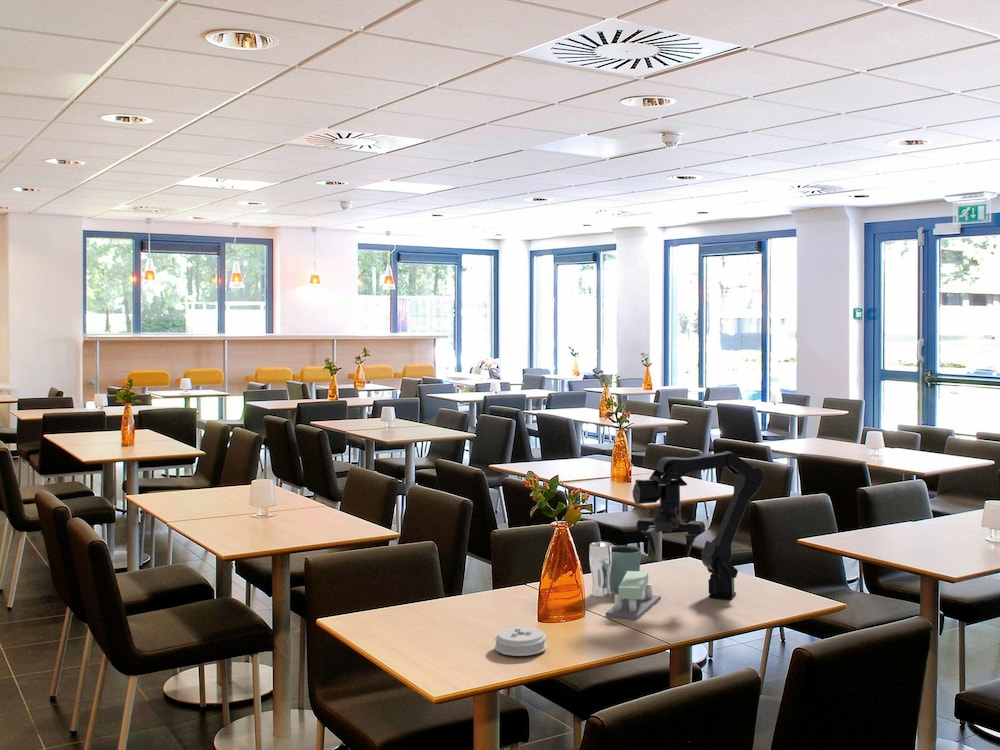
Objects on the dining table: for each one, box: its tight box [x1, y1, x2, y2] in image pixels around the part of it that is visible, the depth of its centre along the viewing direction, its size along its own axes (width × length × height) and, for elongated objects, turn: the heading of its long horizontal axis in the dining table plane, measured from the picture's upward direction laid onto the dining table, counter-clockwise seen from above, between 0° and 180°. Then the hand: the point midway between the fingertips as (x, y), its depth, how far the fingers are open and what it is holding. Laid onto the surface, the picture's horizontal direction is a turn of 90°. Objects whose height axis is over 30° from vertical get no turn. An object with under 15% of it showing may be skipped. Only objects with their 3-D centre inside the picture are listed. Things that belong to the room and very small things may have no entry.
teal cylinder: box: [611, 545, 642, 592], centre depth 279 cm, size 10×10×12 cm
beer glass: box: [588, 541, 613, 598], centre depth 273 cm, size 7×7×15 cm
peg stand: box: [605, 582, 662, 621], centre depth 259 cm, size 9×21×5 cm, turn 153°
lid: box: [494, 626, 548, 657], centre depth 227 cm, size 13×13×5 cm
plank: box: [618, 571, 649, 599], centre depth 259 cm, size 6×18×3 cm, turn 165°
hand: (671, 556), depth 264 cm, fingers open, 9 cm apart
